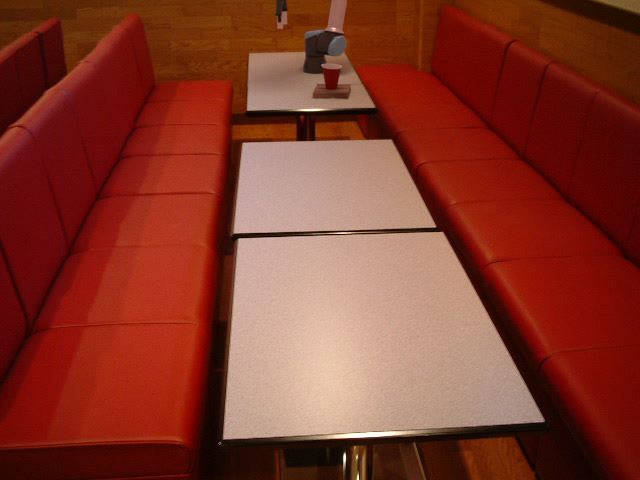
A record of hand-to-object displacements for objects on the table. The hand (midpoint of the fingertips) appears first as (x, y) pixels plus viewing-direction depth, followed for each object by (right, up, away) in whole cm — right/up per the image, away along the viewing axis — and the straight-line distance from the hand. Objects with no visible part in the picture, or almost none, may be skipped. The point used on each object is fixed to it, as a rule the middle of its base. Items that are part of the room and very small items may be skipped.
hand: (282, 26), depth 335 cm
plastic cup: (+26, -33, -2) cm, 42 cm away
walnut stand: (+26, -36, -1) cm, 44 cm away
